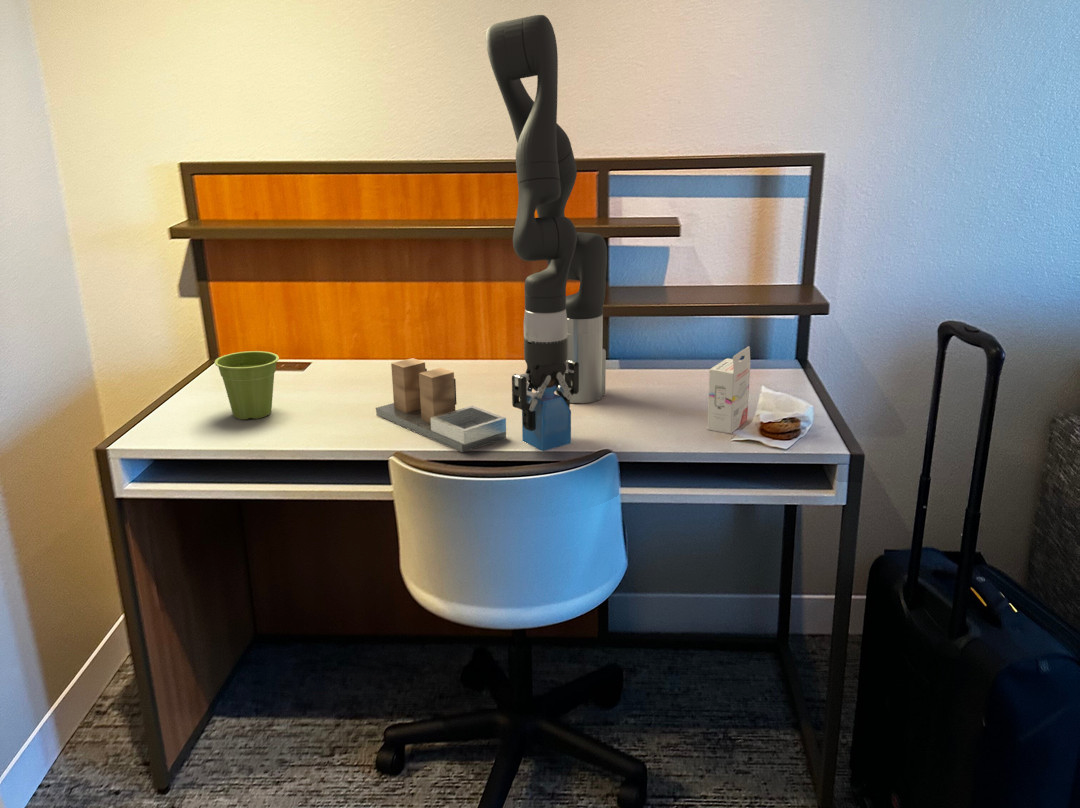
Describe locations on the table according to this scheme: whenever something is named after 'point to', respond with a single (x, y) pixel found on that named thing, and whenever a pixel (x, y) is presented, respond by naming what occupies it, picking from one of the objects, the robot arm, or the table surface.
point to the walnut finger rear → (407, 384)
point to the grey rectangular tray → (452, 426)
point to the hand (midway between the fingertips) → (546, 423)
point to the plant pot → (249, 382)
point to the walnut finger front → (437, 393)
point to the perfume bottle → (549, 421)
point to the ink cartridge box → (729, 393)
